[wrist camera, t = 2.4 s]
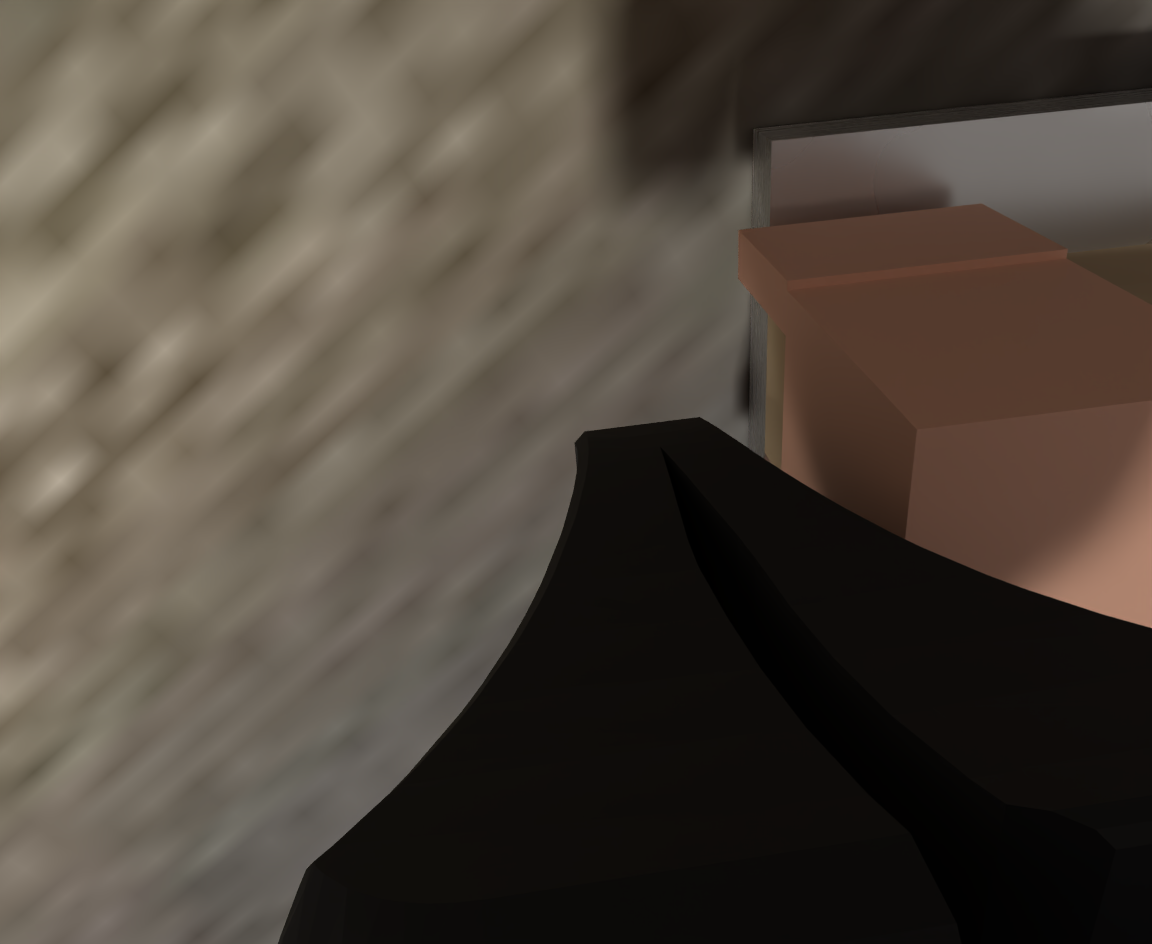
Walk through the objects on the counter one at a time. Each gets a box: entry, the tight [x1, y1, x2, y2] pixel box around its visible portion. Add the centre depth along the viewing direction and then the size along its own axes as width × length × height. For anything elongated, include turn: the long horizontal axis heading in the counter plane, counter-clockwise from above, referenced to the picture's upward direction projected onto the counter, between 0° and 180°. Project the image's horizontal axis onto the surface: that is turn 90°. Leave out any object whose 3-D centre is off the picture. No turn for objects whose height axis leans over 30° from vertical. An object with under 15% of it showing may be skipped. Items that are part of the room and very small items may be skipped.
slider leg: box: [738, 203, 1152, 628], centre depth 12 cm, size 10×3×5 cm, turn 4°
